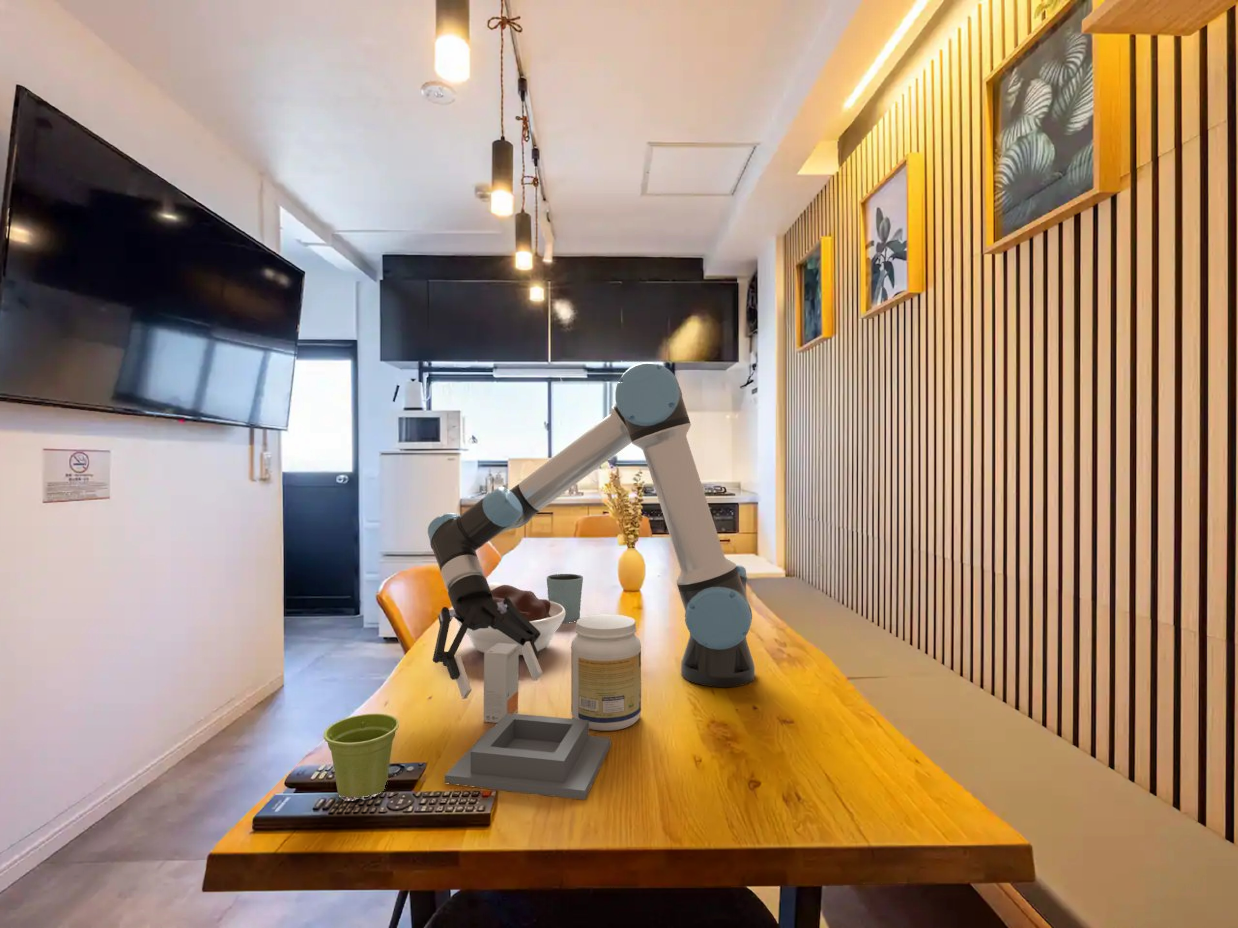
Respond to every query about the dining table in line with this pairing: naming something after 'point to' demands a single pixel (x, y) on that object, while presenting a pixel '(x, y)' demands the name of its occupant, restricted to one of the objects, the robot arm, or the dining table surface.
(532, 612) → the bowl of chocolate pudding
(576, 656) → the supplement tub
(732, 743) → the dining table surface
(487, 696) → the skincare box
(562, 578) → the teal cup
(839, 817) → the dining table surface
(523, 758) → the slate stand
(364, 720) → the plant pot
